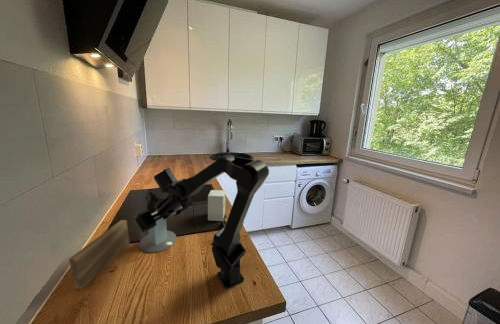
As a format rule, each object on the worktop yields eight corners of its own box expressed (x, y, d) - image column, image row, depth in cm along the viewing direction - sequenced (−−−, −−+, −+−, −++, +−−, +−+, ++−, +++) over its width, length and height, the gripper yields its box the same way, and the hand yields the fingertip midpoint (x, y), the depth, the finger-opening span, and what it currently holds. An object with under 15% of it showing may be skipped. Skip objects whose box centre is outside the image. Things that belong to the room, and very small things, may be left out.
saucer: (179, 245, 76) (179, 244, 76) (140, 257, 70) (140, 255, 69) (172, 228, 87) (172, 227, 87) (138, 236, 80) (138, 235, 80)
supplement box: (223, 221, 94) (223, 196, 91) (207, 220, 94) (207, 195, 91) (225, 213, 101) (225, 190, 98) (210, 212, 101) (210, 189, 98)
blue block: (167, 238, 79) (165, 213, 77) (156, 245, 75) (153, 219, 72) (160, 235, 81) (158, 210, 78) (149, 241, 77) (146, 215, 74)
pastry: (240, 219, 97) (240, 212, 96) (246, 226, 91) (246, 219, 90) (221, 223, 93) (221, 215, 92) (226, 231, 87) (226, 223, 86)
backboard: (129, 243, 76) (126, 220, 73) (81, 289, 57) (75, 259, 54) (124, 243, 76) (121, 219, 74) (75, 288, 57) (69, 258, 54)
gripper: (181, 176, 78) (163, 195, 86) (135, 192, 62) (118, 214, 70) (197, 199, 77) (178, 217, 84) (154, 222, 61) (135, 241, 68)
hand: (154, 221), depth 77 cm, fingers open, 8 cm apart
